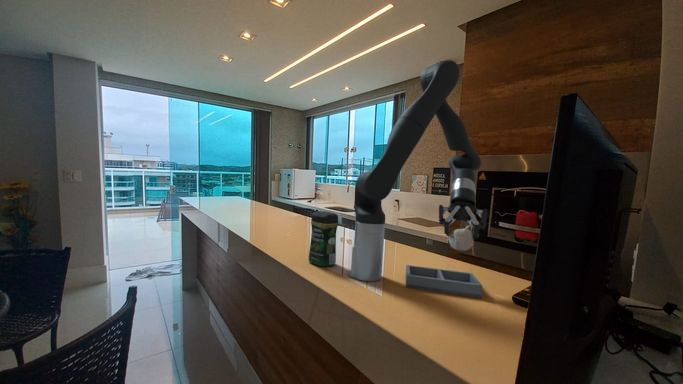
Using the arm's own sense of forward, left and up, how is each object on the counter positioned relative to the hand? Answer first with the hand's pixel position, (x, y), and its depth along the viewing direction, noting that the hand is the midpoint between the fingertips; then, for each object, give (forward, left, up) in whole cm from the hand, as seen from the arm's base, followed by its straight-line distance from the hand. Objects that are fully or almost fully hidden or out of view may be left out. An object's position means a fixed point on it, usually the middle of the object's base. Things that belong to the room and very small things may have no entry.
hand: (460, 236), depth 76 cm
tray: (-5, +2, -16) cm, 16 cm away
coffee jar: (-44, +8, -16) cm, 47 cm away
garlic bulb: (0, +2, -5) cm, 5 cm away
